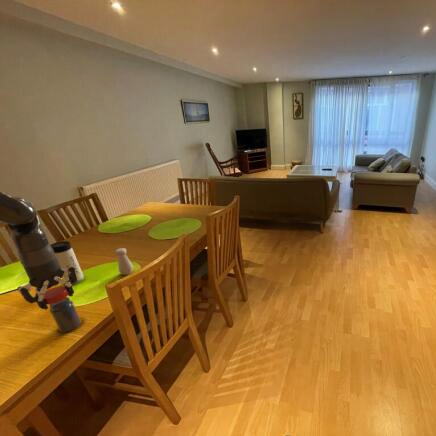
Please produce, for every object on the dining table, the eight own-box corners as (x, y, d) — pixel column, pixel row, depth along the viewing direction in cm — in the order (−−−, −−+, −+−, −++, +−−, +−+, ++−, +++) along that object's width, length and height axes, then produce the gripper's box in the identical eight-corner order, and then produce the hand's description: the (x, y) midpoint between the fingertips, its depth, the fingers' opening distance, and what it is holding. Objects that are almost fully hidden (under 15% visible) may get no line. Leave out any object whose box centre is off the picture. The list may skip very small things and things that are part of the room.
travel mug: (65, 280, 111) (48, 242, 103) (83, 275, 115) (68, 238, 108) (66, 287, 107) (48, 248, 99) (84, 281, 111) (69, 242, 103)
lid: (73, 291, 84) (70, 285, 84) (57, 304, 79) (54, 298, 78) (54, 292, 84) (52, 286, 83) (37, 304, 78) (34, 298, 77)
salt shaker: (137, 270, 119) (130, 247, 114) (127, 277, 114) (119, 253, 109) (127, 268, 120) (120, 245, 115) (117, 275, 115) (109, 251, 110)
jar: (69, 333, 84) (57, 309, 79) (55, 331, 84) (42, 307, 80) (85, 320, 89) (75, 296, 85) (71, 318, 90) (60, 295, 86)
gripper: (13, 274, 68) (36, 319, 74) (73, 251, 80) (88, 292, 86) (1, 268, 71) (24, 312, 77) (60, 247, 83) (76, 286, 89)
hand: (58, 301), depth 82 cm, fingers closed on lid, 6 cm apart
